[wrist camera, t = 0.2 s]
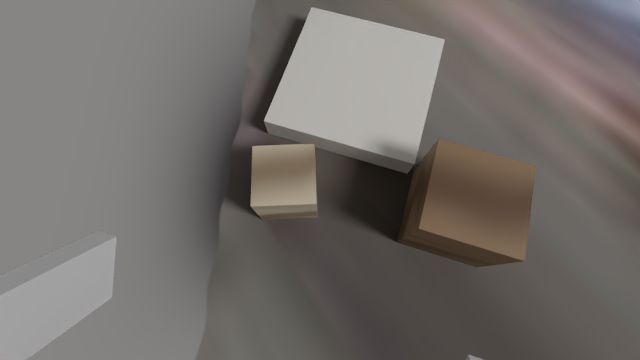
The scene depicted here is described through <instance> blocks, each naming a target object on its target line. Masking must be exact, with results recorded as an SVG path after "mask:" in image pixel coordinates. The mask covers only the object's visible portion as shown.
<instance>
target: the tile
mask: <svg viewBox="0 0 640 360" xmlns="http://www.w3.org/2000/svg"><path fill="white" fill-rule="evenodd" d="M444 41H445V39H441V38H437V37H433V36H428V35H424V34H420V33H416V32H412V31H408V30H404V29H400V28H395V27H391V26H387V25H383V24H379V23H375V22H371V21H366V20H362V19H358V18H354V17H350V16H346V15H342V14H338V13H333V12H329V11H325V10H321V9H317V8H313V7H312V8H311V10H310V12H309V15H308V17H307V20H306V22H305V24H304V27H303V29H302V31H301V34H300V36H299V39H298V41H297V43H296V46H295V48H294V51H293V53H292V55H291V58H290V60H289V62H288V65H287V67H286V70H285V72H284V74H283V77H282V79H281V81H280V84H279V86H278V89H277V91H276V93H275V96H274V98H273V100H272V103H271V105H270V108H269V110H268V112H267V115H266V117H265V119H264V123H265V126H266V129H267V131H268V134H271V135H275V136H278V137H282V138H285V139H289V140H292V141H296V142H299V143H302V144H314V146H315V147H316V148H320V149H323V150H327V151H330V152H334V153H337V154H340V155H344V156H347V157H351V158H354V159H358V160H361V161H365V162H368V163H371V164H375V165H378V166H382V167H385V168H389V169H392V170H396V171H399V172H403V173H406V174H408V172H409V171H410V170H411V169H412V167H413V166H414V165H415V161H416V157H417V153H418V149H419V144H420V140H421V136H422V132H423V128H424V124H425V120H426V116H427V111H428V107H429V103H430V99H431V95H432V91H433V87H434V83H435V78H436V74H437V70H438V66H439V62H440V58H441V54H442V49H443V45H444Z"/></svg>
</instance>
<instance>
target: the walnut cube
mask: <svg viewBox="0 0 640 360" xmlns="http://www.w3.org/2000/svg"><path fill="white" fill-rule="evenodd" d="M535 168H536V165H533V164H529V163H525V162H522V161H518V160H515V159H511V158H507V157H504V156H500V155H496V154H493V153H489V152H485V151H482V150H478V149H475V148H471V147H467V146H464V145H460V144H456V143H453V142H449V141H445V140H442V139H438V140H437V142H436V143H435V144H434V146H433V147H432V148H431V149H430V151H429V152H428V153H427V154H426V156H425V157H424V158H423V160H422V161H421V162H420V163H419V165H418V166H417V167H416V168H415V170H414V171H413V176H412V180H411V184H410V188H409V192H408V196H407V200H406V205H405V209H404V213H403V217H402V221H401V225H400V229H399V234H398V238H397V242H398V243H401V244H404V245H407V246H410V247H414V248H417V249H420V250H423V251H426V252H430V253H433V254H436V255H439V256H442V257H446V258H449V259H452V260H455V261H458V262H461V263H465V264H468V265H471V266H474V267H481V266H490V265H498V264H506V263H514V262H522V261H525V255H526V246H527V238H528V229H529V220H530V211H531V203H532V194H533V185H534V177H535Z"/></svg>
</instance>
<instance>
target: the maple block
mask: <svg viewBox="0 0 640 360" xmlns="http://www.w3.org/2000/svg"><path fill="white" fill-rule="evenodd" d="M251 208H252V209H253V210H254V211H255V212H256V213H257V214H258V215H259V217H260V218H261V219H262V220H264V219H288V218H312V217H318V216H317V190H316V164H315V146H314V144H293V145H268V146H252V175H251Z"/></svg>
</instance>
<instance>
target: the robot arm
mask: <svg viewBox="0 0 640 360" xmlns="http://www.w3.org/2000/svg"><path fill="white" fill-rule="evenodd" d="M116 238H117V237H116V236H114V235H111V234H108V233H105V232H102V231H97V232H94V233H92V234H90V235H88V236H85V237H83V238H81V239H79V240H77V241H74V242H72V243H70V244H68V245H66V246H63V247H61V248H59V249H57V250H55V251H52V252H50V253H48V254H46V255H44V256H41V257H39V258H37V259H35V260H32V261H30V262H28V263H26V264H24V265H21V266H19V267H17V268H15V269H12V270H10V271H8V272H6V273H4V274H1V275H0V360H27V359H28V358H29V357H31V356H32V355H34V354H35V353H36V352H37V351H39V350H40V349H42V348H43V347H45V346H46V345H47V344H49V343H50V342H51V341H53V340H54V339H56V338H57V337H58V336H60V335H61V334H63V333H64V332H65V331H67V330H68V329H69V328H71V327H72V326H74V325H75V324H76V323H78V322H79V321H80V320H82V319H83V318H85V317H86V316H87V315H89V314H90V313H91V312H93V311H94V310H96V309H97V308H98V307H100V306H101V305H103V304H104V303H105V302H107V301H108V300H109V299H111V298H112V294H113V279H114V265H115V252H116ZM466 360H483V359H480V358H477V357H474V356H471V355H468V356H467V359H466Z"/></svg>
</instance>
